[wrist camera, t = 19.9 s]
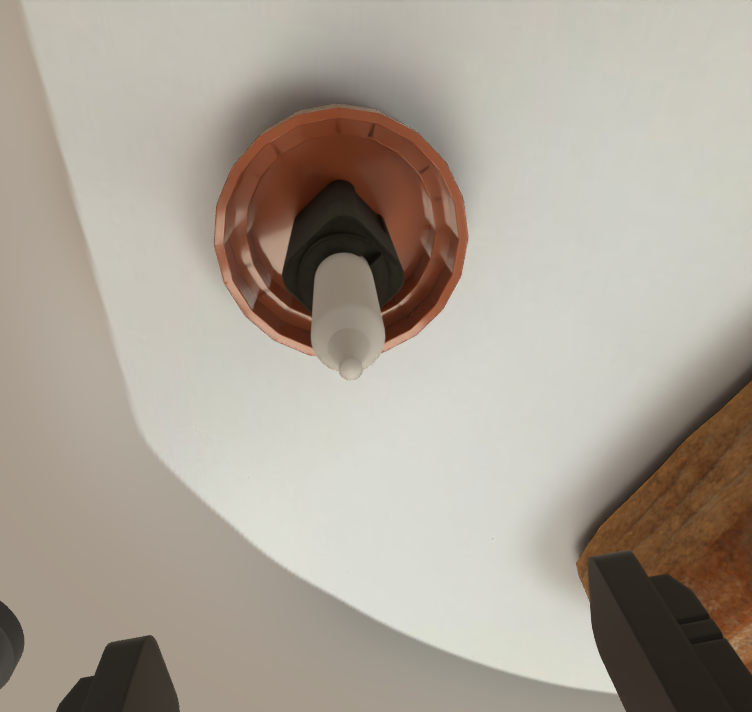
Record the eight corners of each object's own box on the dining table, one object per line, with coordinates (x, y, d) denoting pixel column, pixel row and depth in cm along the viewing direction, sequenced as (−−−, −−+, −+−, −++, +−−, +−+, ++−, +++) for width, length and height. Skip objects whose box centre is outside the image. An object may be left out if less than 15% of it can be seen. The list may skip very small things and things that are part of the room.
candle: (392, 227, 48) (454, 374, 25) (338, 278, 49) (348, 464, 26) (340, 171, 46) (353, 271, 23) (285, 225, 47) (245, 372, 24)
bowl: (257, 344, 51) (248, 377, 46) (202, 127, 45) (184, 135, 40) (463, 306, 51) (480, 335, 45) (435, 84, 45) (449, 86, 40)
